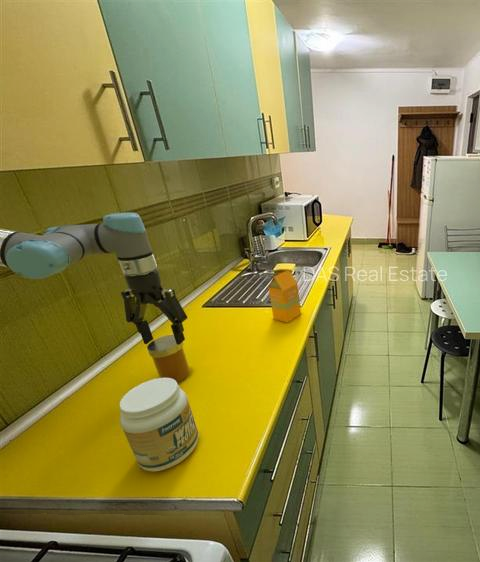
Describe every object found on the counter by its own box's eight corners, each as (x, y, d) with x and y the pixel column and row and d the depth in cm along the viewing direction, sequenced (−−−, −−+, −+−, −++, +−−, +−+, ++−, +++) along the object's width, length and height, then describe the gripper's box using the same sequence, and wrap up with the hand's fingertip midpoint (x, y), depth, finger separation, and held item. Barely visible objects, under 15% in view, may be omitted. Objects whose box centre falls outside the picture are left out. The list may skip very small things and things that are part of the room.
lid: (142, 357, 87) (139, 350, 87) (163, 340, 95) (160, 334, 95) (170, 358, 87) (168, 351, 86) (189, 341, 95) (187, 334, 94)
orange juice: (301, 313, 132) (296, 270, 124) (287, 322, 125) (281, 278, 117) (287, 309, 135) (281, 267, 127) (273, 318, 128) (265, 274, 120)
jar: (154, 384, 92) (142, 351, 87) (172, 367, 99) (161, 336, 94) (179, 385, 91) (168, 352, 87) (195, 368, 99) (186, 336, 94)
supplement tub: (183, 473, 66) (161, 414, 59) (125, 476, 65) (97, 417, 59) (209, 426, 77) (192, 373, 71) (159, 429, 77) (138, 375, 70)
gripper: (89, 276, 79) (119, 348, 87) (170, 276, 77) (192, 349, 86) (114, 266, 86) (139, 334, 94) (188, 266, 84) (207, 335, 93)
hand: (165, 341), depth 90 cm, fingers open, 9 cm apart
